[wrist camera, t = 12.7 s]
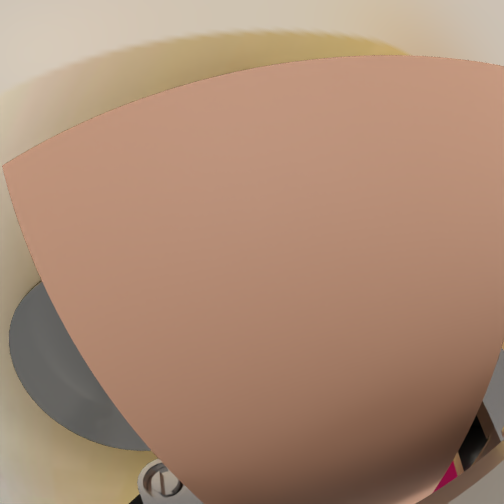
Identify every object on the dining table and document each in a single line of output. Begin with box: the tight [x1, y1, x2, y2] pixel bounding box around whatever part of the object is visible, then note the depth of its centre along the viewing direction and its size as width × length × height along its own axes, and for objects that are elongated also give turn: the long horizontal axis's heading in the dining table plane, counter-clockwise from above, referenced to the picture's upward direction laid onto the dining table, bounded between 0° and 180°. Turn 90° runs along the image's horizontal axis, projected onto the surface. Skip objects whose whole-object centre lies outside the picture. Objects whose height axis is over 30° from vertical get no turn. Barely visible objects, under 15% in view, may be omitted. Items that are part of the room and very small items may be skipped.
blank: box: [2, 55, 504, 504], centre depth 7 cm, size 5×10×7 cm, turn 14°
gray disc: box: [9, 281, 151, 451], centre depth 11 cm, size 10×10×1 cm
